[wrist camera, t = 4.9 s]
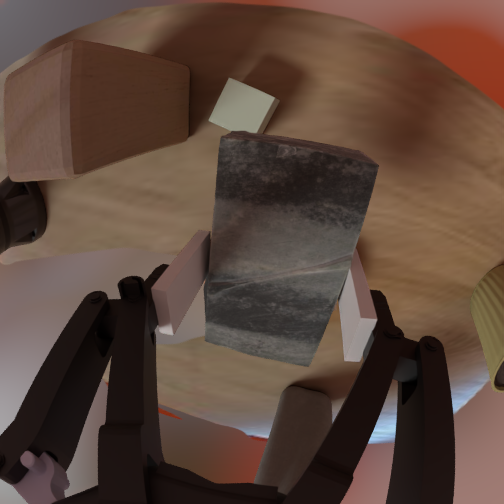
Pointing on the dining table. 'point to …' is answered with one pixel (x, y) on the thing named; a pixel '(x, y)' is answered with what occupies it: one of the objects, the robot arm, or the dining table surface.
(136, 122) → the wooden block
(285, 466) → the vase
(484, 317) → the potted cactus
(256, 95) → the sage cube
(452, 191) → the dining table surface
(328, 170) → the stone block
